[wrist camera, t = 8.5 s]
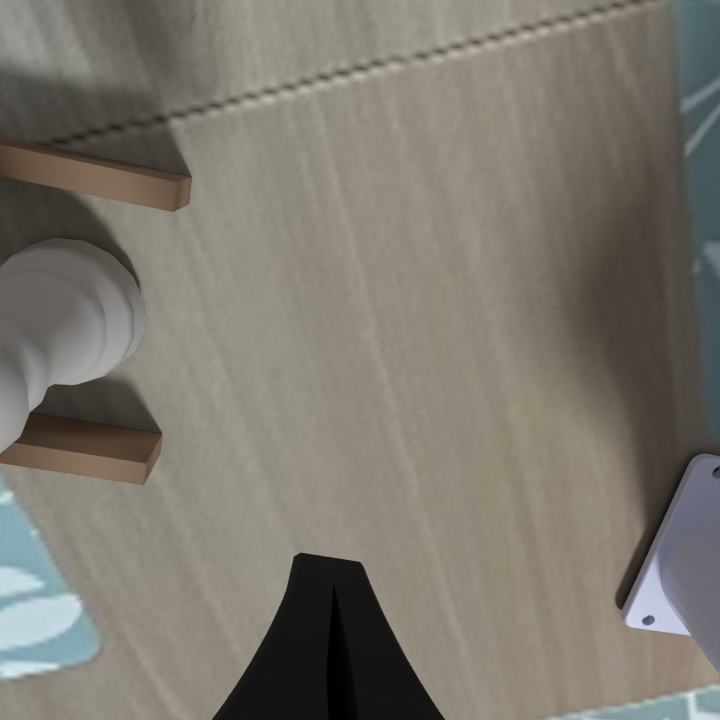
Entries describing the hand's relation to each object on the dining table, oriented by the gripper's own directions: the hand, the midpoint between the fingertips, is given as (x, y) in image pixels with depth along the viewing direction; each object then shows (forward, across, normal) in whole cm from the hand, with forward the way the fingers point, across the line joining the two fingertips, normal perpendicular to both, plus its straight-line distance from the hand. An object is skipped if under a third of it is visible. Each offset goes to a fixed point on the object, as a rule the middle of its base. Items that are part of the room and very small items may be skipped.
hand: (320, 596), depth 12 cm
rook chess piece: (+10, +8, -2) cm, 13 cm away
